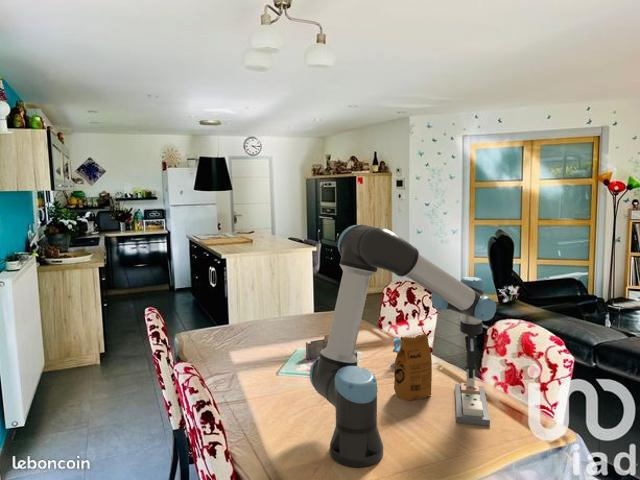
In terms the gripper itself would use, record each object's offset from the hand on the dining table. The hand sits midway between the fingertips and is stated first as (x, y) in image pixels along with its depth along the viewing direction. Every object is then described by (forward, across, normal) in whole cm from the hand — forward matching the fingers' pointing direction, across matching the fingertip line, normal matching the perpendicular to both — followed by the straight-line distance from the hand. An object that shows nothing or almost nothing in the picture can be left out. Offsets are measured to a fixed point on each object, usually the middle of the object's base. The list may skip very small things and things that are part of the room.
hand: (470, 385), depth 172 cm
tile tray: (+4, -8, 0) cm, 9 cm away
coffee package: (+4, -3, +20) cm, 21 cm away
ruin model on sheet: (+4, +27, +63) cm, 69 cm away
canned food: (+4, +7, +46) cm, 47 cm away
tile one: (+2, -16, 0) cm, 16 cm away
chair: (+4, +25, +26) cm, 36 cm away
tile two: (+3, -8, 0) cm, 9 cm away
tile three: (+3, 0, 0) cm, 3 cm away
